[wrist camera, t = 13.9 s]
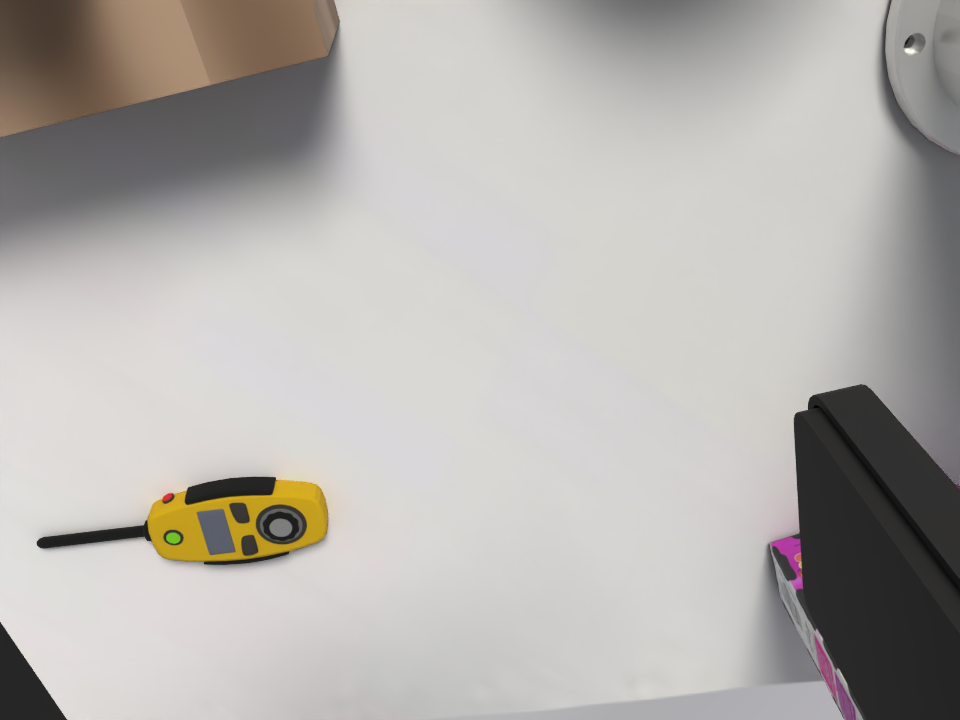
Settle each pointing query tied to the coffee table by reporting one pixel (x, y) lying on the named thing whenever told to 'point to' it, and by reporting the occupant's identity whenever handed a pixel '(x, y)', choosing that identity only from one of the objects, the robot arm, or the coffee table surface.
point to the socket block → (143, 50)
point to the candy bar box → (810, 623)
